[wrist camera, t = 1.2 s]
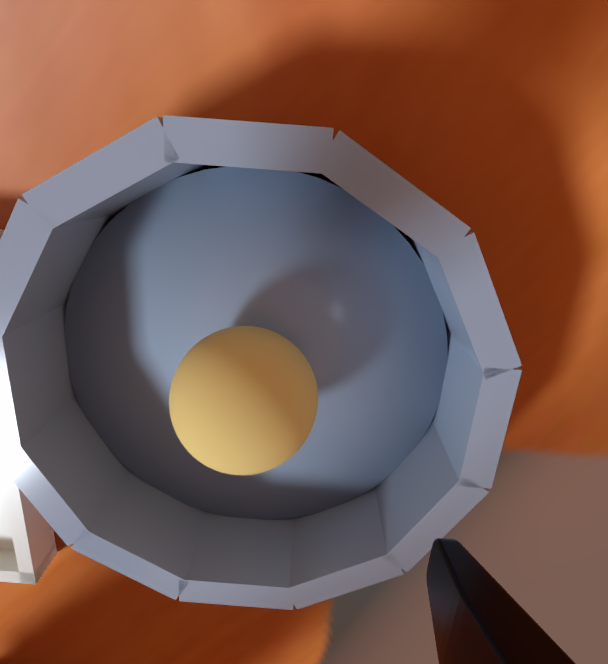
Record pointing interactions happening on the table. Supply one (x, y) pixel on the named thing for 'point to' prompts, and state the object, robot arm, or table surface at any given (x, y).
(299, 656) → the table surface
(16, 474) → the bowl
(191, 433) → the ball
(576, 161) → the table surface
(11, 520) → the tray
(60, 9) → the table surface
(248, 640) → the table surface
